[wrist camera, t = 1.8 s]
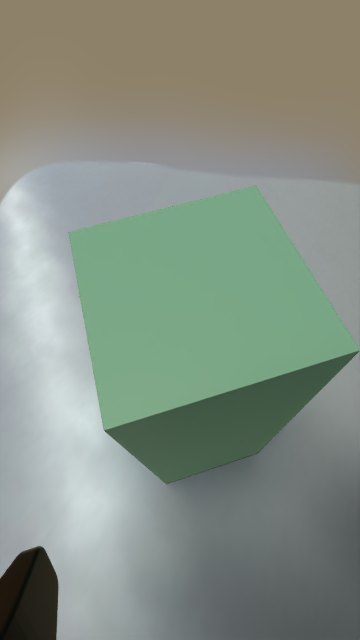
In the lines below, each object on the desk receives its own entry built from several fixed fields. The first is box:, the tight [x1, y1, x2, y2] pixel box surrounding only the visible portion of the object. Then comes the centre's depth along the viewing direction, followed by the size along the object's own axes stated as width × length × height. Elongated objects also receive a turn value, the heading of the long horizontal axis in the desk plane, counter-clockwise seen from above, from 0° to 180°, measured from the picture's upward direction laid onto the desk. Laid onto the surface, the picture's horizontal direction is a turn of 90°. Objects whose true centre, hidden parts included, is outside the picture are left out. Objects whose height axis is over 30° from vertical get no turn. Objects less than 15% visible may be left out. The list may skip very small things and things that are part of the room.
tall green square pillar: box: [68, 186, 360, 484], centre depth 13 cm, size 5×5×13 cm
